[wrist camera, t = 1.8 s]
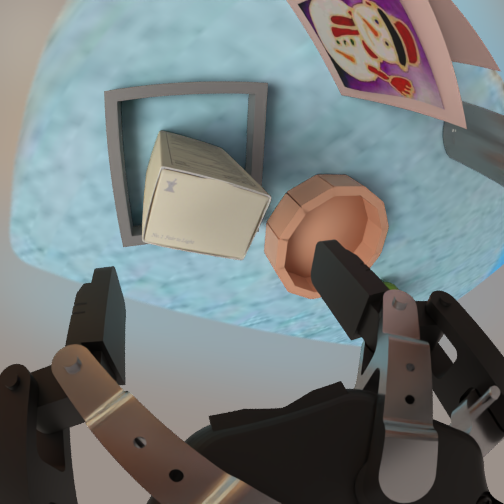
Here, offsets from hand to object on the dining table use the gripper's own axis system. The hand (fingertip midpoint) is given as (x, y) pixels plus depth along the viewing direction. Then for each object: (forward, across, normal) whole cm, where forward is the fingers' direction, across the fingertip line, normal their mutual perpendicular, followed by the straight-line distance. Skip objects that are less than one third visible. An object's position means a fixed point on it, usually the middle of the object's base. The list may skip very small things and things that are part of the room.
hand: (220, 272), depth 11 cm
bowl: (+16, -15, +9) cm, 24 cm away
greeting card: (+17, -14, -13) cm, 26 cm away
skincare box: (+17, 0, 0) cm, 17 cm away
